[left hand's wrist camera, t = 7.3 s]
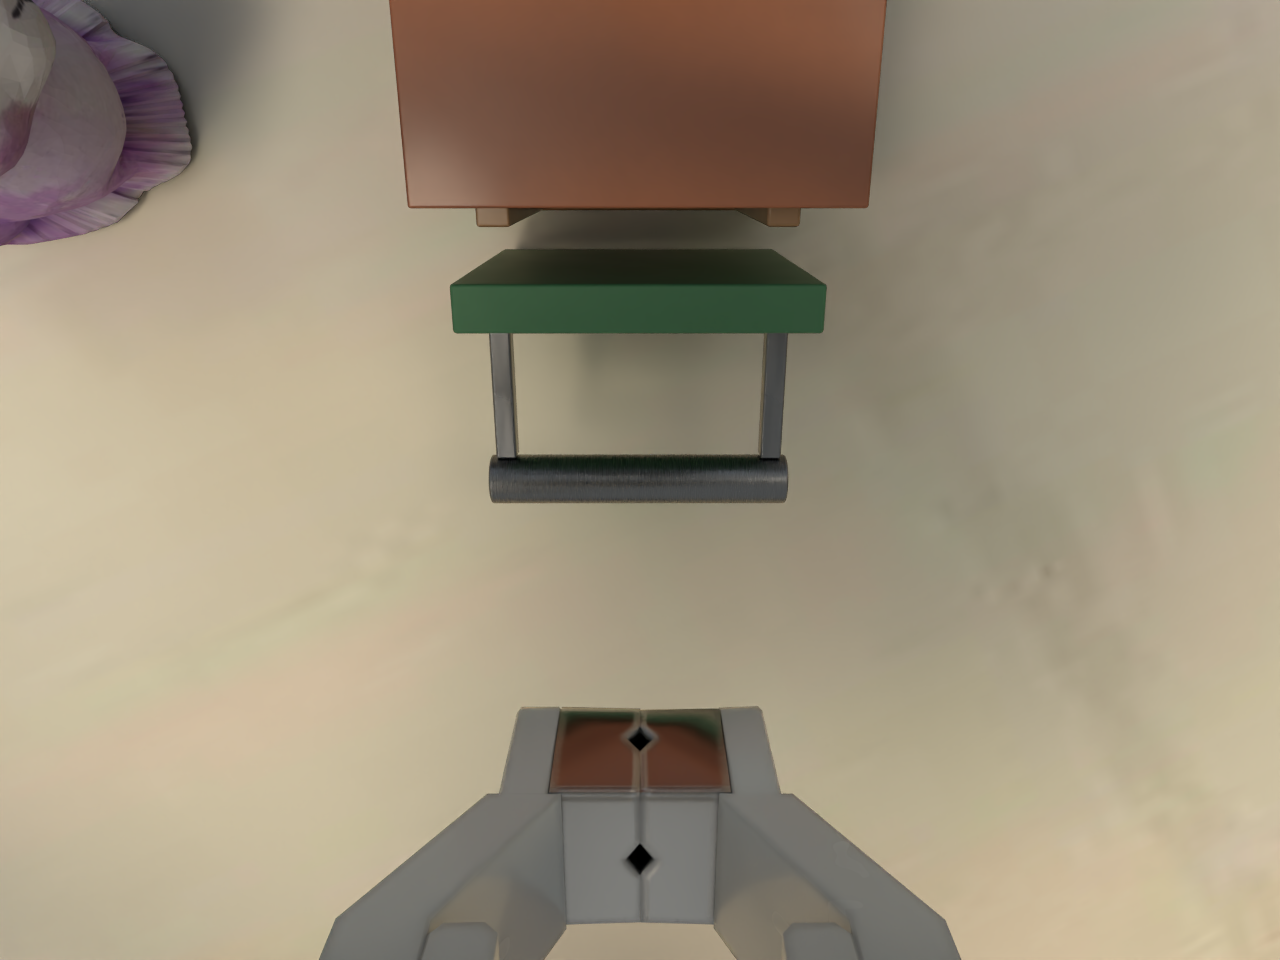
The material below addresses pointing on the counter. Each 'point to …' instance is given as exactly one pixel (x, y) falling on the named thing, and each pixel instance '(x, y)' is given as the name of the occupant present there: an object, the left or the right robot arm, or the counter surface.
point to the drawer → (638, 303)
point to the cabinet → (638, 102)
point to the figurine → (79, 121)
